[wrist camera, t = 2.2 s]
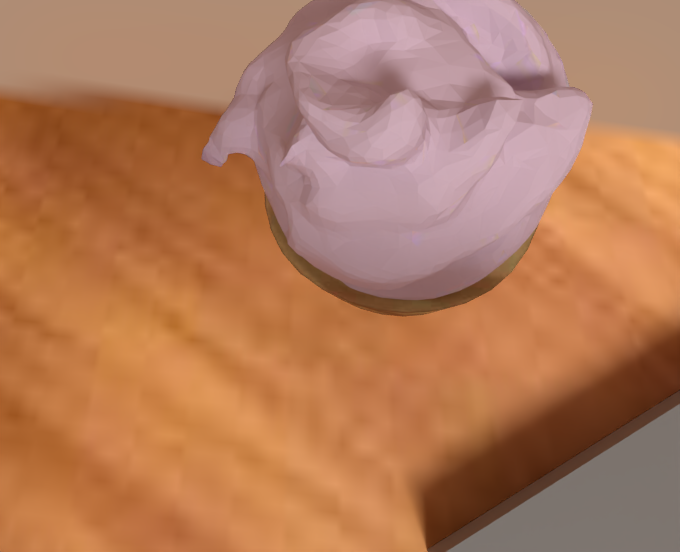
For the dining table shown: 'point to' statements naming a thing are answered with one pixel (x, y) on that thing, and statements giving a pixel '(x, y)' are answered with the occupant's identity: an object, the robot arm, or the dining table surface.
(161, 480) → the dining table surface
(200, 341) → the dining table surface
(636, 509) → the grey flat square frame
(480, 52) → the ice cream cone
